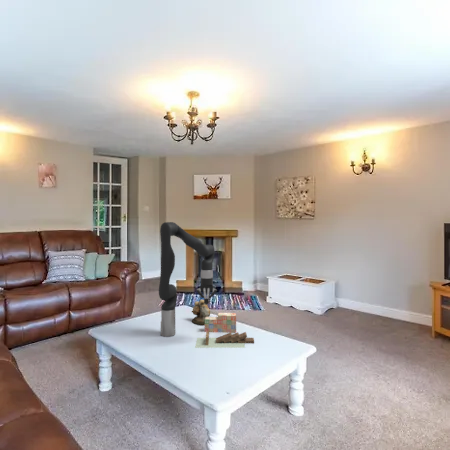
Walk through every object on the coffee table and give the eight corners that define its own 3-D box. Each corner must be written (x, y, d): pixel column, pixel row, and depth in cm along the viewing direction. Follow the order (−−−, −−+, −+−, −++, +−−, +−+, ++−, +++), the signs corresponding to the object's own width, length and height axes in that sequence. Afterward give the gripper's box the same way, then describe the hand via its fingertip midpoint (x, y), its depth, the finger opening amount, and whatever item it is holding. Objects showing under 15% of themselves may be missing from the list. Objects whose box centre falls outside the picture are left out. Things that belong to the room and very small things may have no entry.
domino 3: (223, 340, 201) (238, 335, 201) (223, 337, 206) (238, 332, 206) (224, 343, 201) (239, 337, 201) (224, 340, 206) (239, 334, 206)
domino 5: (237, 340, 201) (254, 340, 201) (237, 337, 206) (253, 337, 206) (238, 343, 201) (254, 343, 201) (237, 340, 206) (253, 340, 206)
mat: (195, 348, 195) (195, 347, 195) (197, 338, 211) (197, 337, 211) (245, 348, 195) (245, 347, 195) (243, 338, 211) (243, 337, 211)
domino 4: (231, 340, 201) (246, 334, 201) (230, 337, 206) (245, 331, 206) (232, 343, 201) (247, 337, 201) (231, 340, 206) (246, 334, 206)
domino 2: (215, 341, 201) (231, 335, 201) (216, 337, 206) (230, 332, 206) (216, 343, 201) (231, 337, 201) (217, 340, 206) (231, 334, 206)
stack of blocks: (204, 332, 221) (204, 314, 221) (205, 329, 227) (205, 312, 227) (235, 333, 219) (235, 315, 219) (236, 330, 225) (236, 312, 225)
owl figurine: (187, 322, 244) (186, 299, 243) (198, 318, 253) (197, 296, 253) (204, 327, 232) (204, 303, 232) (215, 322, 242) (215, 300, 241)
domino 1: (205, 337, 198) (206, 331, 208) (205, 345, 198) (206, 339, 208) (208, 337, 198) (209, 331, 208) (208, 345, 198) (209, 339, 208)
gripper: (195, 277, 199) (195, 305, 199) (217, 278, 199) (216, 306, 199) (196, 275, 206) (196, 302, 207) (217, 275, 206) (217, 302, 207)
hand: (206, 304), depth 203 cm, fingers closed
